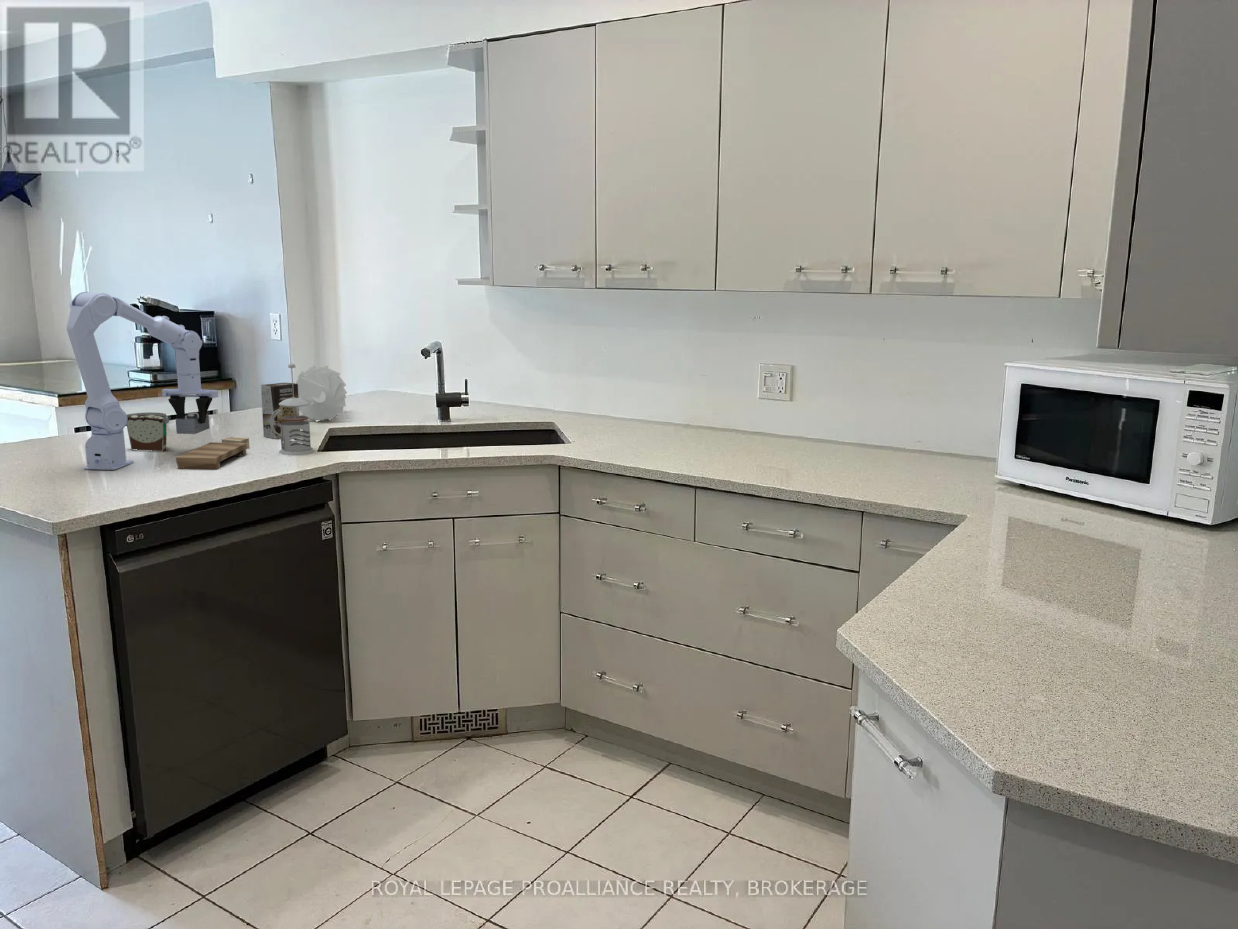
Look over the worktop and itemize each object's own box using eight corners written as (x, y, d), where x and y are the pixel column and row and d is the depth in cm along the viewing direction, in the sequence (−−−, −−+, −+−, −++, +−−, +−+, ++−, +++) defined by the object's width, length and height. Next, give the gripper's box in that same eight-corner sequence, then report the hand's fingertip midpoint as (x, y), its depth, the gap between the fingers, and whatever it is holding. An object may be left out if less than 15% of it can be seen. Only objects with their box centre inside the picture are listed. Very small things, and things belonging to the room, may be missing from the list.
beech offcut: (240, 451, 255) (239, 440, 254) (222, 449, 257) (221, 439, 256) (249, 448, 259) (248, 438, 258) (232, 447, 260) (231, 436, 260)
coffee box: (276, 439, 272) (272, 386, 268) (262, 436, 275) (259, 384, 272) (301, 435, 279) (298, 383, 276) (288, 432, 283) (285, 381, 279)
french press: (320, 452, 255) (316, 364, 250) (279, 457, 248) (274, 366, 242) (306, 446, 262) (302, 360, 257) (266, 451, 255) (261, 362, 249)
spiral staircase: (333, 423, 324) (335, 431, 300) (285, 403, 317) (283, 410, 294) (354, 376, 323) (357, 382, 300) (306, 355, 317) (305, 359, 294)
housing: (195, 434, 246) (193, 416, 245) (176, 433, 246) (175, 415, 245) (209, 428, 255) (208, 410, 254) (191, 427, 255) (190, 410, 254)
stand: (215, 469, 231) (214, 458, 231) (176, 468, 231) (175, 457, 231) (247, 453, 251) (246, 443, 250) (211, 452, 251) (210, 442, 250)
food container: (180, 447, 257) (177, 412, 255) (168, 451, 251) (164, 416, 249) (140, 445, 258) (136, 411, 256) (126, 449, 252) (123, 414, 250)
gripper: (221, 372, 251) (224, 420, 254) (169, 371, 251) (173, 419, 254) (210, 375, 244) (213, 425, 247) (156, 374, 244) (160, 424, 247)
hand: (192, 422), depth 250 cm, fingers closed on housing, 5 cm apart
